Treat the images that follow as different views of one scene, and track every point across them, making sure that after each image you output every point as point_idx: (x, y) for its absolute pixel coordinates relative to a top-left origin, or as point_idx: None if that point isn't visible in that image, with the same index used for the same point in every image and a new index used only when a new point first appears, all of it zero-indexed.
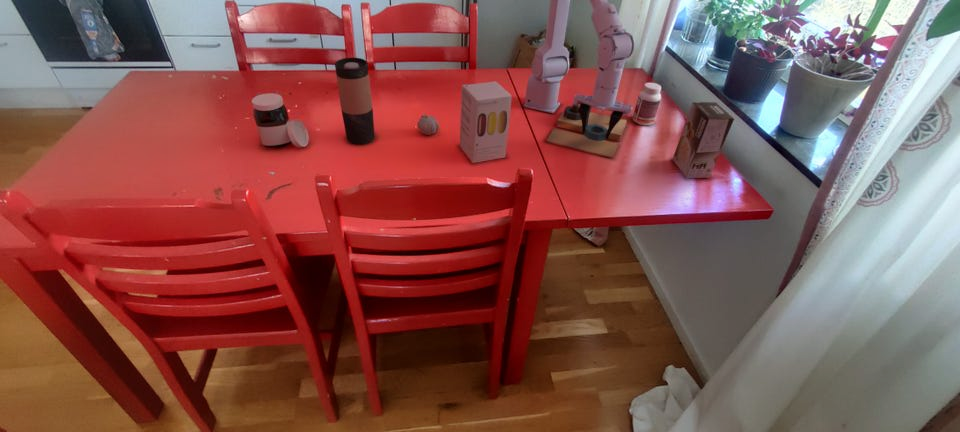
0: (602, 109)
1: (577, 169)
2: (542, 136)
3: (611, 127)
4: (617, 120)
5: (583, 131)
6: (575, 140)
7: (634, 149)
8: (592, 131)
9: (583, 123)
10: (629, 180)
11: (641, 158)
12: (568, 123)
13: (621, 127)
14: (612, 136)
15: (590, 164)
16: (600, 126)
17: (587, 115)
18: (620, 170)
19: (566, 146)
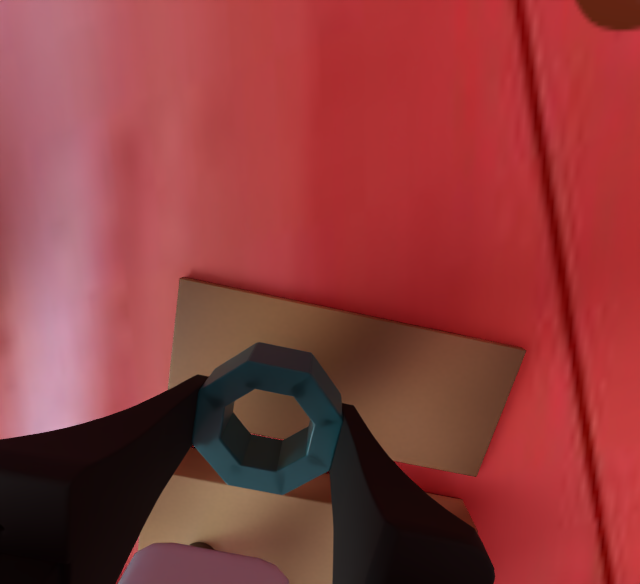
0: (141, 567)
1: (355, 107)
2: (534, 394)
3: (138, 411)
4: (14, 444)
5: (350, 408)
6: (372, 391)
7: (89, 393)
8: (293, 437)
9: (370, 444)
10: (72, 74)
11: (46, 321)
12: None
13: (151, 540)
14: (192, 462)
15: (287, 185)
16: (244, 474)
17: (360, 512)
18: (130, 169)
19: (416, 326)
